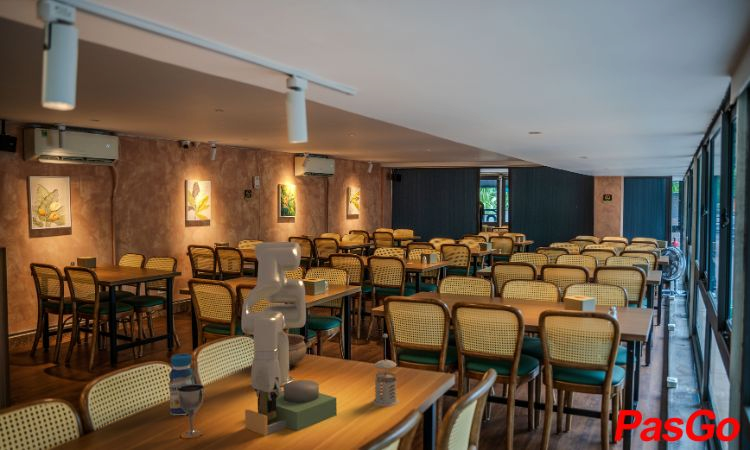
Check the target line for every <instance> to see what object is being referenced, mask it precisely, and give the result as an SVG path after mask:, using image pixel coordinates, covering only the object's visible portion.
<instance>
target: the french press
mask: <svg viewBox="0 0 750 450" xmlns="http://www.w3.org/2000/svg"><path fill="white" fill-rule="evenodd" d="M388 337H389V336H388V334H387V333H384V334H382V338H384V356H385V357H384V358H385V359H382V360H378V361H377V362H375V363H374V367H375V368H377V369H380V370H381V369H383V370H384V371H385V372H384V371H382V372H380V370H379V371H377V373H376V374H375V377H376V378H375V379H374V381H375V382H374V386H375V387H374V389H375V390H374V393H375V394H374V396H375V398H374V399H372V400H373V401H372V404H373V405H375V406H379V407H393V406H396V405H398V404H399V403H400V401H399V399H398V398H397V378H396V374H395V373H391V372H387V369H393V368H395V367H396V366H397V364H398V363H396V361H395V362H394V361H393V360H389V359H387V357H386V355H387V354H386V353H387V352H386V351H387V350H386V349H387V348H386V347H387V345H386V339H387V338H388Z"/></svg>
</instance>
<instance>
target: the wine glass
mask: <svg viewBox="0 0 750 450" xmlns="http://www.w3.org/2000/svg"><path fill="white" fill-rule="evenodd" d="M204 394H205V386H204V384H200V383H194V384H188V385H183V386H181V387H179V388H178V400H179V404H180V407H181V408H182V409H183V410H184V411H185V412H186V413H187V414H188V419H189V425H190V427H189V429H190V430H187V431H188V432H186V431H185V432H186V433H185V434H186V435H188V436H191V435H197V434H200V431H197V430H198V429H194V418H195V414H196V413H197V412H198V411H199V409H200V408H201V406H202V405H203V401H204V396H205V395H204Z"/></svg>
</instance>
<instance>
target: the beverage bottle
mask: <svg viewBox="0 0 750 450" xmlns="http://www.w3.org/2000/svg"><path fill="white" fill-rule="evenodd" d="M170 364H171V367H172V369H171V370H170V372H169V375H168V377H169V379H170V380H169V382H168V386H169V412H170V414H171V415H172V414H173V415H172V416H175V415H184V416H187V413H186V412H185V411H184V410H183V409H182V408H181V407H180V404H179V400H178V388H179V387H181V386H183V385H188V384H195V378H194V376H195V373H194V370H193V368H192V367H191V365H192V355H191V354H190V353H177V354H174V355H171V358H170Z"/></svg>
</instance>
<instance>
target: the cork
mask: <svg viewBox="0 0 750 450" xmlns="http://www.w3.org/2000/svg"><path fill="white" fill-rule="evenodd" d="M259 393H260V401H259V410H258V409H257V413H260V414H263V415H266V416H267V420H270V419H273V418H275V417H276V411H271V413H268V410H267V401H268V400H269V399H268V392H264V391H262V390H259ZM271 394H273V392H271Z"/></svg>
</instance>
